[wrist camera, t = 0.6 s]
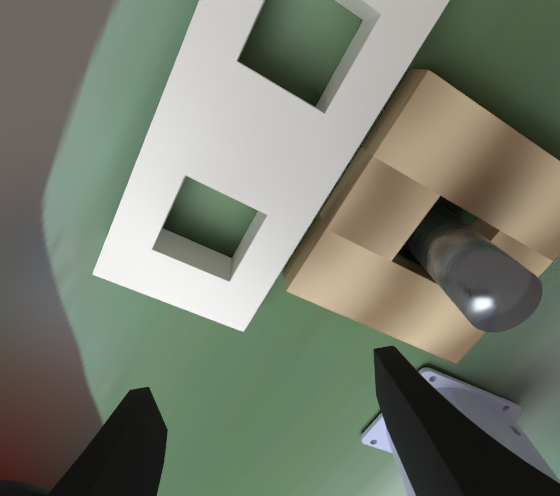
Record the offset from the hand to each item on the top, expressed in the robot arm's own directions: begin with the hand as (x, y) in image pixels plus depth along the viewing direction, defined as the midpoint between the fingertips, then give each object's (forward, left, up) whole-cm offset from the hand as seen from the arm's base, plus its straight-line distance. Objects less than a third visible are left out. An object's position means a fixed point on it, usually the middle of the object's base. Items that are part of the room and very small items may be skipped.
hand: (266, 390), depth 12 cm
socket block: (-8, -5, -10) cm, 14 cm away
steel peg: (-8, -5, -10) cm, 14 cm away
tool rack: (+3, -5, -10) cm, 12 cm away
